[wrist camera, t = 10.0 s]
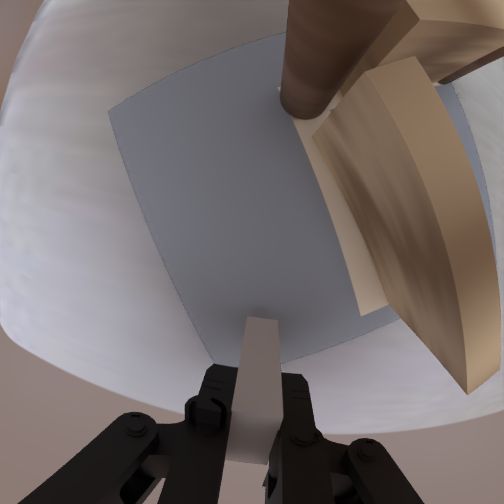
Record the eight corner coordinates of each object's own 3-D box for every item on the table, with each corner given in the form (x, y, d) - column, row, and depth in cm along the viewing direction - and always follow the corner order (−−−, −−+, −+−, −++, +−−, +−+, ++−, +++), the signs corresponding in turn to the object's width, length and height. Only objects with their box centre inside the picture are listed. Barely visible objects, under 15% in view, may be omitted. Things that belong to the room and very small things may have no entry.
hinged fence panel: (311, 136, 12) (364, 71, 5) (339, 123, 12) (415, 55, 4) (390, 307, 14) (467, 395, 6) (413, 293, 14) (499, 369, 6)
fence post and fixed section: (435, 56, 11) (540, -13, 1) (451, 88, 12) (572, 38, 1) (272, 89, 13) (272, -76, 2) (290, 128, 13) (337, -9, 3)
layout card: (409, 19, 11) (413, 15, 10) (491, 262, 14) (497, 265, 13) (112, 113, 13) (107, 111, 13) (224, 373, 17) (223, 379, 16)
